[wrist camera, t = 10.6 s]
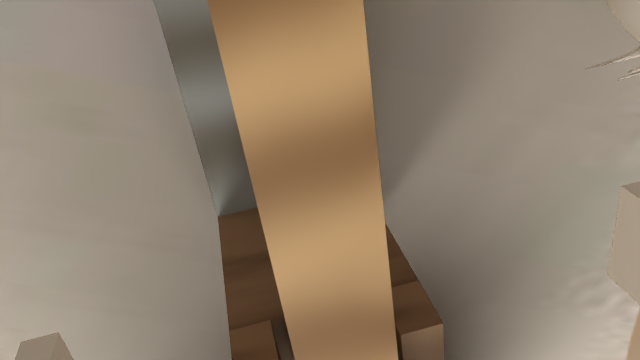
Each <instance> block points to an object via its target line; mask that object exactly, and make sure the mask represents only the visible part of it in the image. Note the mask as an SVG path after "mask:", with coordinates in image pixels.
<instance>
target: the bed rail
mask: <svg viewBox="0 0 640 360" xmlns="http://www.w3.org/2000/svg"><path fill="white" fill-rule="evenodd" d="M207 2H208V6H209V10H210V14H211V18H212V22H213V27H214V31H215V35H216V39H217V43H218V47H219V51H220V55H221V59H222V63H223V67H224V72H225V76H226V80H227V84H228V88H229V92H230V96H231V100H232V104H233V108H234V112H235V117H236V121H237V125H238V129H239V133H240V137H241V141H242V145H243V149H244V153H245V157H246V161H247V166H248V170H249V174H250V178H251V182H252V186H253V190H254V194H255V198H256V202H257V206H258V211H259V215H260V219H261V223H262V227H263V231H264V235H265V239H266V243H267V247H268V251H269V256H270V260H271V264H272V268H273V272H274V276H275V280H276V284H277V288H278V292H279V296H280V301H281V305H282V309H283V313H284V317H285V321H286V325H287V329H288V333H289V337H290V341H291V346H292V350H293V354H294V358H295V360H398V351H397V341H396V330H395V320H394V310H393V300H392V290H391V280H390V269H389V259H388V249H387V239H386V229H385V219H384V208H383V198H382V188H381V178H380V168H379V157H378V147H377V137H376V127H375V117H374V107H373V96H372V86H371V76H370V66H369V56H368V46H367V35H366V25H365V15H364V5H363V0H207Z"/></svg>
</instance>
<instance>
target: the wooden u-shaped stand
mask: <svg viewBox="0 0 640 360" xmlns="http://www.w3.org/2000/svg"><path fill="white" fill-rule="evenodd" d="M154 3H155V6H156V10H157V13H158V16H159V20H160V23H161V27H162V30H163V33H164V37H165V40H166V43H167V47H168V50H169V54H170V57H171V60H172V64H173V67H174V70H175V74H176V77H177V81H178V84H179V87H180V91H181V94H182V97H183V101H184V104H185V108H186V111H187V114H188V118H189V121H190V124H191V128H192V131H193V135H194V138H195V141H196V145H197V148H198V151H199V155H200V158H201V162H202V165H203V168H204V172H205V175H206V178H207V182H208V185H209V189H210V192H211V195H212V199H213V202H214V205H215V209H216V212H217V216H218V222H219V233H220V243H221V253H222V263H223V273H224V283H225V293H226V303H227V313H228V323H229V334H230V344H231V354H232V360H295V358H294V354H293V350H292V346H291V341H290V337H289V333H288V329H287V325H286V321H285V317H284V313H283V309H282V305H281V301H280V296H279V292H278V288H277V284H276V280H275V276H274V272H273V268H272V264H271V260H270V256H269V251H268V247H267V243H266V239H265V235H264V231H263V227H262V223H261V219H260V215H259V211H258V206H257V202H256V198H255V194H254V190H253V186H252V182H251V178H250V174H249V170H248V166H247V161H246V157H245V153H244V149H243V145H242V141H241V137H240V133H239V129H238V125H237V121H236V117H235V112H234V108H233V104H232V100H231V96H230V92H229V88H228V84H227V80H226V76H225V72H224V67H223V63H222V59H221V55H220V51H219V47H218V43H217V39H216V35H215V31H214V27H213V22H212V18H211V14H210V10H209V6H208V2H207V0H154ZM385 229H386V239H387V249H388V259H389V269H390V280H391V290H392V300H393V310H394V320H395V330H396V341H397V351H398V360H444V332H443V322H442V320H441V319H440V317H439V315H438V314H437V312H436V310H435V308H434V307H433V305H432V303H431V301H430V300H429V298H428V296H427V294H426V293H425V291H424V289H423V288H422V286H421V284H420V282H419V281H418V279H417V277H416V275H415V274H414V272H413V270H412V268H411V267H410V265H409V263H408V261H407V260H406V258H405V256H404V255H403V253H402V251H401V249H400V248H399V246H398V244H397V242H396V241H395V239H394V237H393V235H392V234H391V232H390V230H389V228H388V227H387V225H386V223H385Z"/></svg>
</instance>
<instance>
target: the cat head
mask: <svg viewBox="0 0 640 360" xmlns="http://www.w3.org/2000/svg"><path fill="white" fill-rule="evenodd" d="M607 1H608V4H609V6H610V8H611V10H612V12H613V14H614V15H615V17H616V19H617V20H618V21H619V23H620V24H621V25H622V26H623V28H624V29H625V30H626V31H627V32H628V33H629V34H630V35H631V36H632V37H633V38H635V39H636V40H637V41H638V42H640V0H607ZM639 56H640V46H639V47H638V48H637V49H635V50H634V51H632V52H630V53H628V54H626V55H624V56H621V57H619V58H616V59H614V60H610V61H607V62H604V63H601V64H598V65H595V66H592V67H597V66H601V65H606V64H610V63H614V62H618V61H623V60H627V59H631V58H635V57H639ZM592 67H589V68H592ZM586 69H588V68H586ZM637 71H638V72H637ZM633 72H635V73H633ZM628 73H633V74H630V75H627V76H625V77H622V78H620V79H618V80H621V79H625V78H629V77H632V76H636V75H639V74H640V67H638V68H636V69H633V70H630V71H629V72H628Z"/></svg>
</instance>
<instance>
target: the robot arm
mask: <svg viewBox="0 0 640 360" xmlns="http://www.w3.org/2000/svg"><path fill="white" fill-rule="evenodd" d="M607 275H608V276H609V277H610V278H611V279H612V280H614V281H615V282H616V283H617V284H618V285H619V286H620V287H621V288H622V289H623V290H624V291H625V292H627V293H628V294H629V295H630V296H631V297H632V298H633V299H634V300H635V301H636V302H637V303H638V304H639V305H640V182H636V183H632V184H629V185H625V186H621V192H620V199H619V205H618V211H617V217H616V224H615V230H614V236H613V242H612V249H611V255H610V261H609V268H608V274H607ZM15 360H73V358H72V356H71V354H70V352H69V350H68V349H67V347H66V345H65V343H64V341H63V339H62V338H61V336H60V334H59V332H58V333H54V334H50V335H47V336H43V337H39V338H35V339H31V340H27V341H23V342H21V344H20V347H19V350H18V352H17V355H16V358H15Z"/></svg>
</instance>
